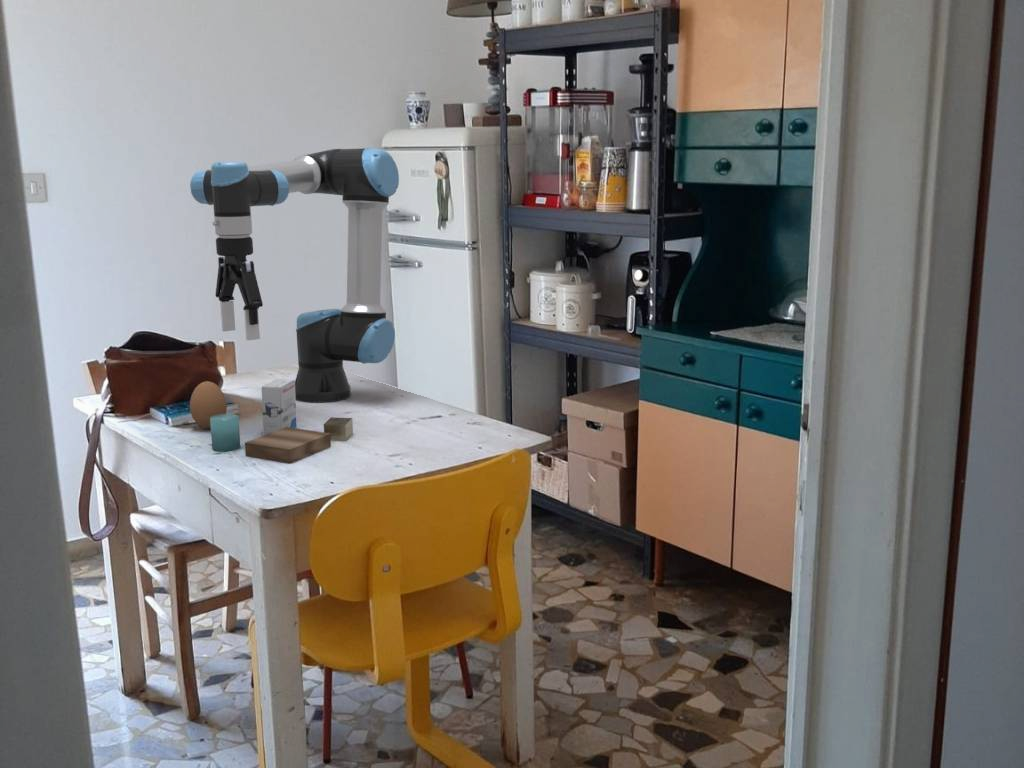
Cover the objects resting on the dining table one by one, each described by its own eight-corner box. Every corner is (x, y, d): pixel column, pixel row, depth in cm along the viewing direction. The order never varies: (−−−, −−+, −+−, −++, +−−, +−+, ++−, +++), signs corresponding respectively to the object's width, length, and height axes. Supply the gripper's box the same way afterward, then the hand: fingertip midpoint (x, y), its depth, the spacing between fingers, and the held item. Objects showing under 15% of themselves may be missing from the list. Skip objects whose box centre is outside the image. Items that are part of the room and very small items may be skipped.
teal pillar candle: (225, 442, 220) (223, 412, 218) (246, 446, 217) (244, 415, 216) (206, 449, 215) (204, 418, 213) (227, 453, 212) (225, 422, 210)
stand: (287, 439, 222) (287, 427, 221) (331, 446, 217) (330, 433, 216) (245, 456, 210) (244, 442, 209) (290, 463, 205) (289, 449, 204)
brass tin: (331, 434, 227) (331, 417, 227) (353, 434, 227) (352, 417, 226) (324, 441, 222) (323, 424, 221) (346, 441, 221) (345, 424, 220)
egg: (202, 422, 237) (199, 377, 234) (234, 424, 235) (231, 378, 233) (184, 431, 229) (181, 384, 226) (217, 433, 227) (214, 386, 225)
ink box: (278, 426, 234) (276, 378, 231) (298, 427, 233) (296, 379, 230) (262, 435, 225) (259, 386, 223) (283, 437, 224) (280, 387, 222)
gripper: (195, 233, 216) (203, 328, 221) (239, 241, 196) (246, 345, 201) (228, 231, 220) (235, 325, 225) (274, 239, 201) (280, 341, 206)
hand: (240, 335), depth 213 cm, fingers open, 13 cm apart
